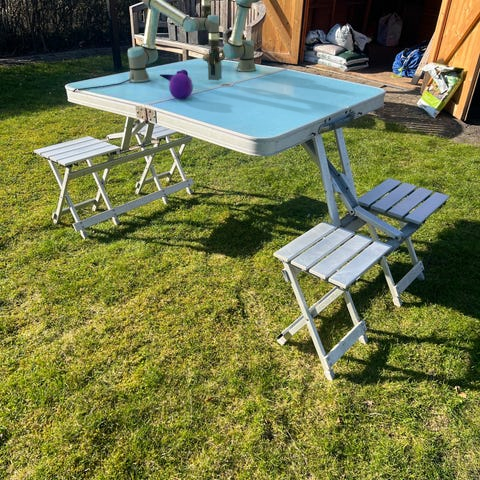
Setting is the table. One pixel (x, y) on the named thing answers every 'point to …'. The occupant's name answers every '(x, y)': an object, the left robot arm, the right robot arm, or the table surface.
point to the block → (217, 71)
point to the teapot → (206, 58)
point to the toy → (179, 84)
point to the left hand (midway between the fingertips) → (214, 74)
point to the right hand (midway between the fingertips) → (207, 34)
